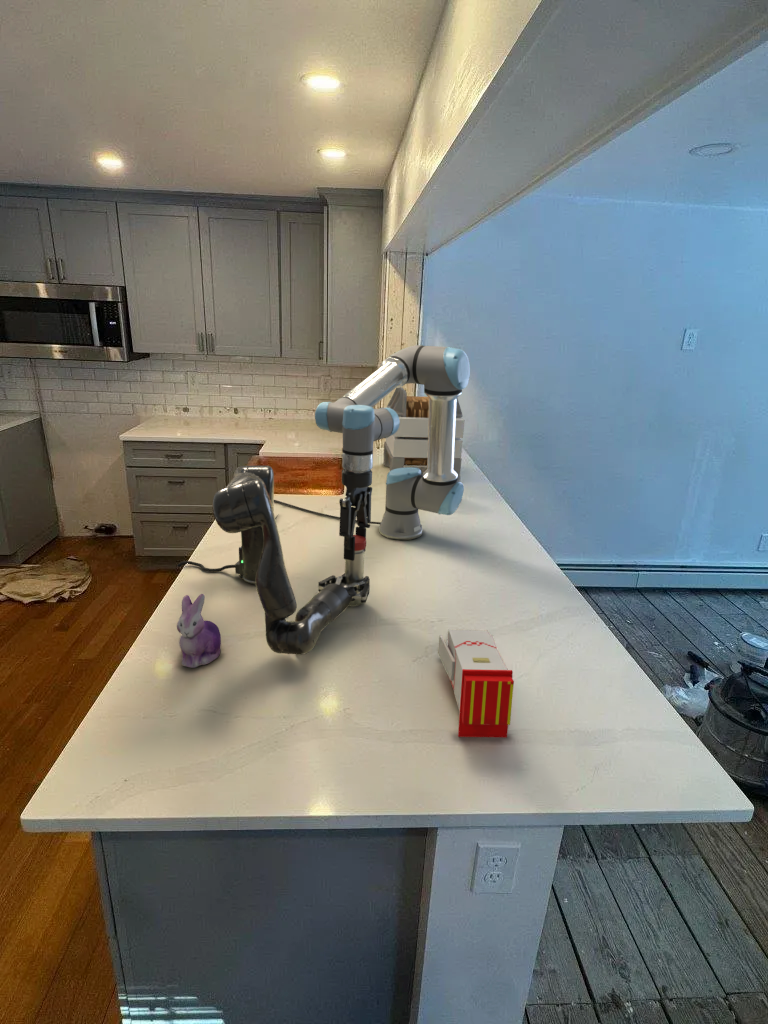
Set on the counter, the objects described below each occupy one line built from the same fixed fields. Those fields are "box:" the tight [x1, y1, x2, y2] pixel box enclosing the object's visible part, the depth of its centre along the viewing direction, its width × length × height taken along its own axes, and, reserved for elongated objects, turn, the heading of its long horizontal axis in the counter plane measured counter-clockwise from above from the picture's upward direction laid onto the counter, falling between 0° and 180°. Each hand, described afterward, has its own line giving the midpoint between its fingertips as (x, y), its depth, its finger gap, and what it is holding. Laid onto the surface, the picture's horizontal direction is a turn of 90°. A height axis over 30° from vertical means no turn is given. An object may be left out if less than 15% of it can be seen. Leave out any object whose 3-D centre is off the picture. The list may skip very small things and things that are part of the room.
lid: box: [353, 534, 367, 551], centre depth 147 cm, size 6×6×2 cm
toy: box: [437, 628, 515, 738], centre depth 117 cm, size 12×13×30 cm
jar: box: [344, 549, 365, 607], centre depth 150 cm, size 5×5×17 cm
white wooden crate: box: [383, 386, 465, 482], centre depth 268 cm, size 34×33×41 cm
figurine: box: [176, 593, 222, 668], centre depth 123 cm, size 9×10×15 cm
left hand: (358, 577), depth 153 cm, fingers closed on jar, 5 cm apart
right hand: (354, 554), depth 148 cm, fingers closed on lid, 6 cm apart
